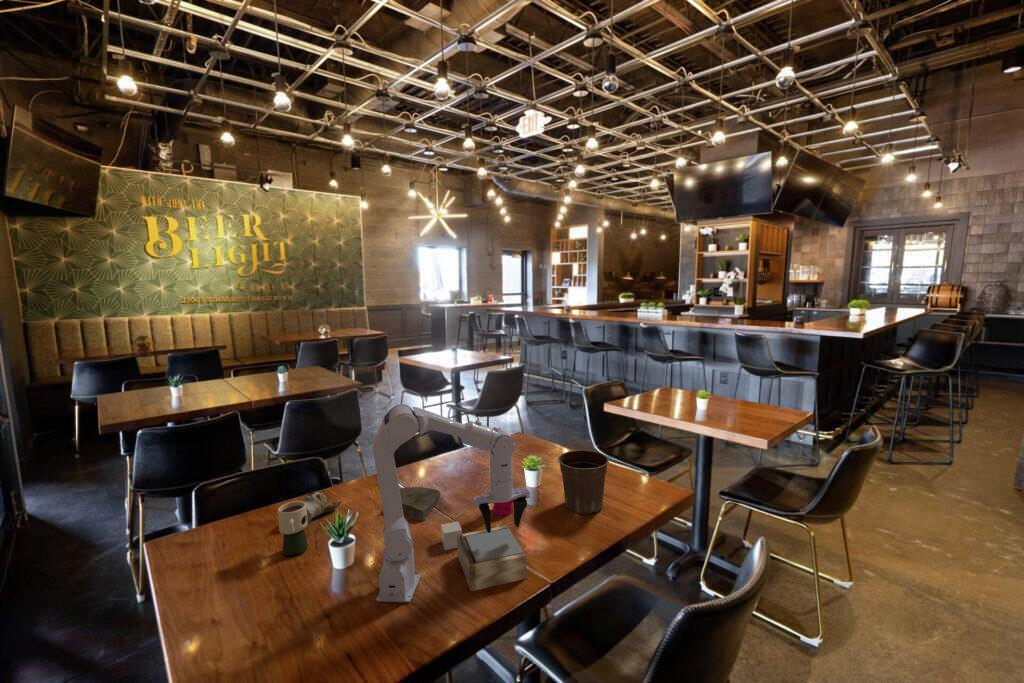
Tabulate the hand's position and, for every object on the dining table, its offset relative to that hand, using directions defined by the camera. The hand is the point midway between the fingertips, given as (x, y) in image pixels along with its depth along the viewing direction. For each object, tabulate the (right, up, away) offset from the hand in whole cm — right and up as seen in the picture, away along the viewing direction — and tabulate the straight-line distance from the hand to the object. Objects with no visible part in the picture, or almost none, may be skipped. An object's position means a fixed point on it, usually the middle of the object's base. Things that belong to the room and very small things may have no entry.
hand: (502, 528), depth 116 cm
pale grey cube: (-15, -9, +11) cm, 20 cm away
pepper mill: (0, -7, +29) cm, 30 cm away
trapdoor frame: (-2, -10, 0) cm, 10 cm away
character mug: (-58, -10, +9) cm, 59 cm away
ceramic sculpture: (-61, -8, +29) cm, 68 cm away
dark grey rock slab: (-30, -7, +33) cm, 45 cm away
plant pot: (+26, -6, +31) cm, 41 cm away
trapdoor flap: (-2, -5, 0) cm, 6 cm away
